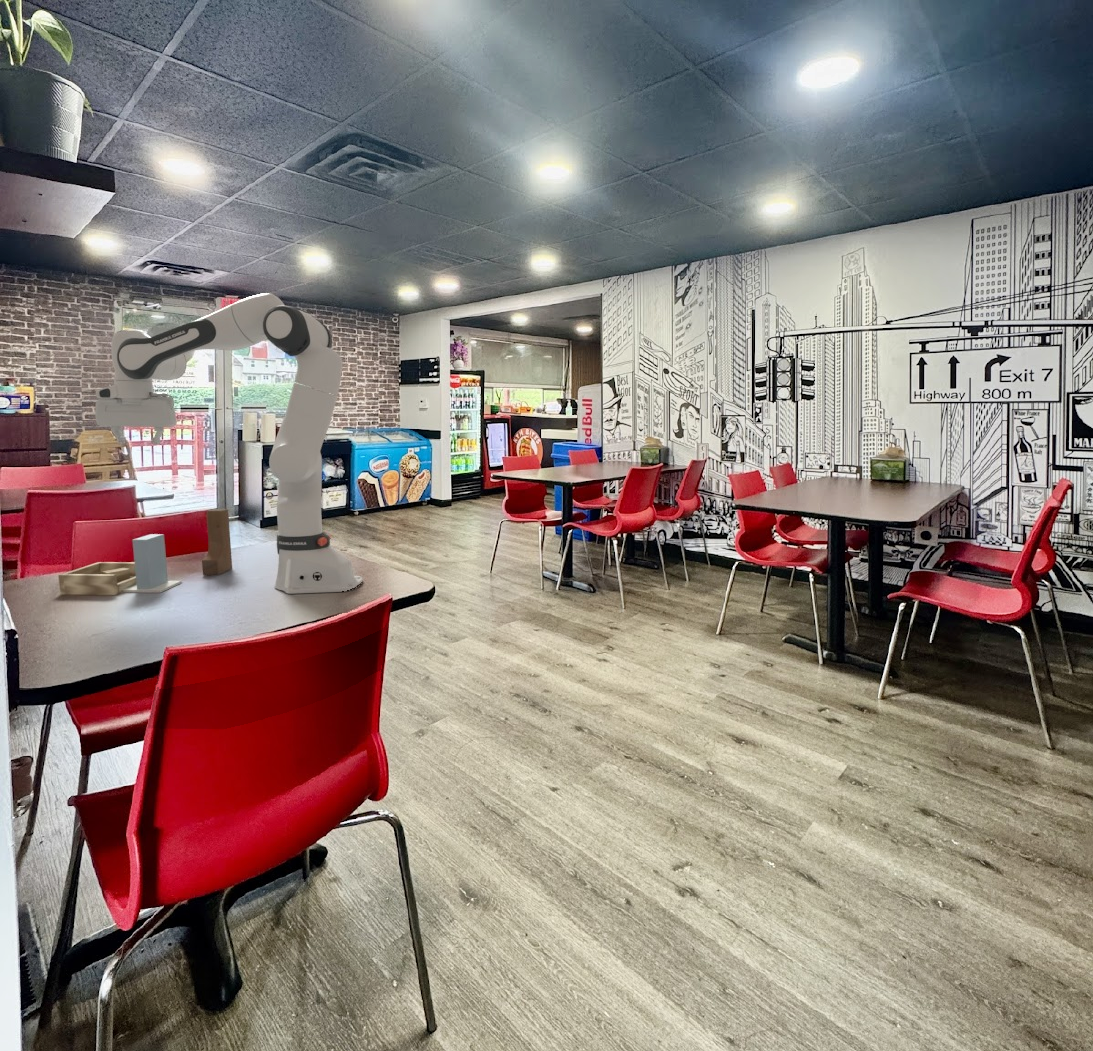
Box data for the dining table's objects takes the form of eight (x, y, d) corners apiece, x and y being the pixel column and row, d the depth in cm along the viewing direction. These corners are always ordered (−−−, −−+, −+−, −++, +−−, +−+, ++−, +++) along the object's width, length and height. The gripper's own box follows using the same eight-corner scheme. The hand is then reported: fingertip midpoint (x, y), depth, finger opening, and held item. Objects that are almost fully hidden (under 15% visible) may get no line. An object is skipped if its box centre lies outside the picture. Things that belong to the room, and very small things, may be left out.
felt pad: (181, 582, 182) (181, 580, 182) (160, 592, 172) (160, 590, 172) (145, 582, 182) (144, 580, 182) (121, 592, 172) (121, 589, 172)
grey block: (168, 581, 181) (163, 534, 179) (150, 589, 173) (146, 539, 171) (155, 581, 181) (150, 534, 179) (137, 589, 173) (132, 539, 171)
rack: (151, 580, 185) (149, 562, 184) (116, 594, 170) (114, 575, 169) (99, 579, 185) (98, 562, 184) (60, 594, 170) (58, 575, 169)
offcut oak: (130, 578, 178) (129, 568, 178) (108, 582, 174) (107, 573, 173) (124, 576, 180) (123, 567, 179) (102, 580, 175) (101, 571, 175)
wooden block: (218, 575, 190) (213, 513, 187) (202, 575, 190) (197, 513, 187) (232, 568, 199) (228, 508, 196) (217, 568, 199) (213, 508, 196)
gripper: (179, 393, 184) (183, 443, 186) (104, 392, 184) (109, 442, 186) (166, 392, 177) (170, 444, 180) (89, 391, 178) (94, 443, 180)
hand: (138, 443), depth 183 cm, fingers open, 8 cm apart
